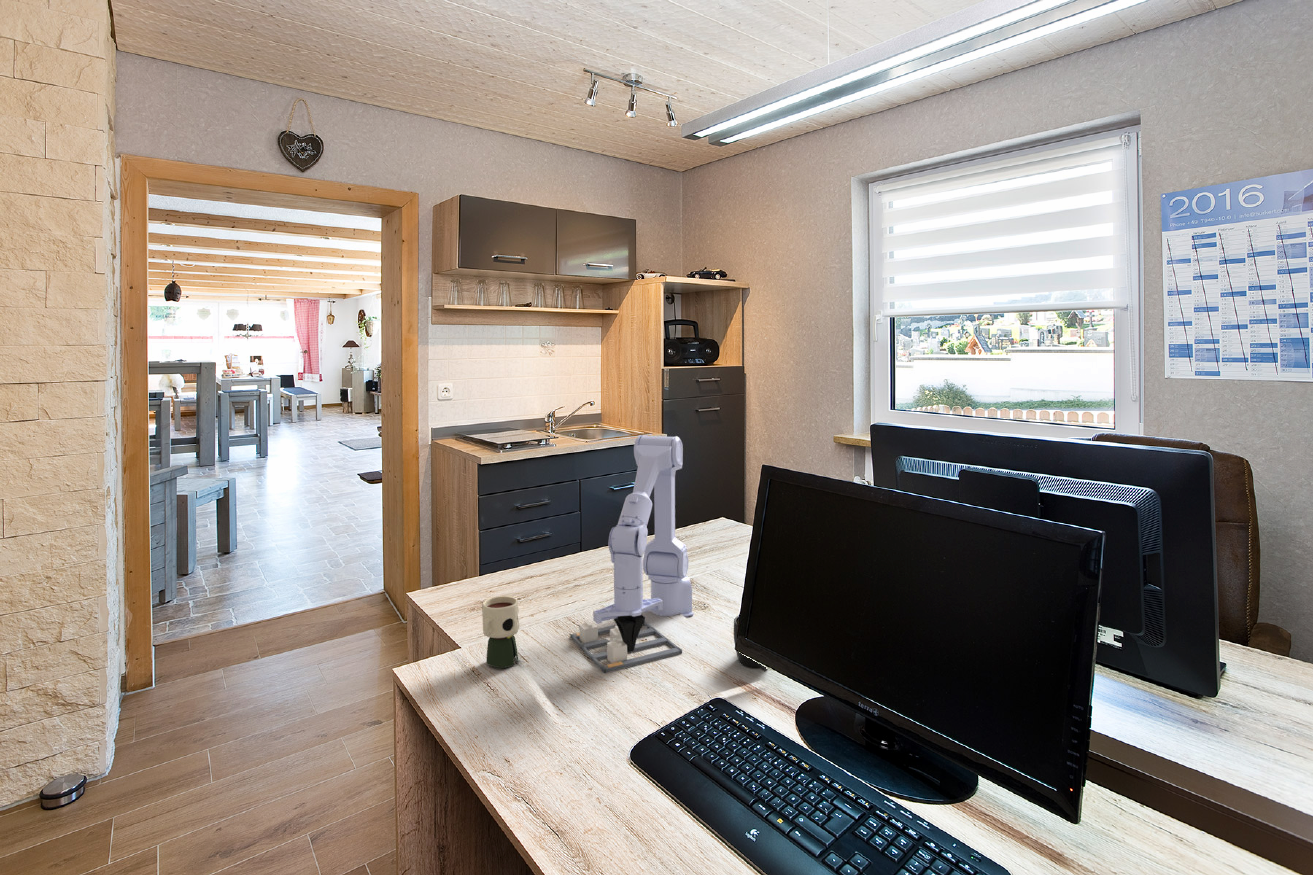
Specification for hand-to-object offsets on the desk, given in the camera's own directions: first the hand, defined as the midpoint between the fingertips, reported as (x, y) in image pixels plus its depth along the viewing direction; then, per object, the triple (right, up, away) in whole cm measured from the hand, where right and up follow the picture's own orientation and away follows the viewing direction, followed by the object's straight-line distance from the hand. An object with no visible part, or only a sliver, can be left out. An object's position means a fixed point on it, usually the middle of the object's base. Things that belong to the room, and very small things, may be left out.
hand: (629, 649), depth 136 cm
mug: (+25, -3, 0) cm, 26 cm away
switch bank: (-1, -2, +6) cm, 6 cm away
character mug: (-26, -3, 0) cm, 26 cm away
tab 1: (-9, -1, +8) cm, 12 cm away
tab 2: (-2, -1, +5) cm, 6 cm away
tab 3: (-2, -2, -1) cm, 3 cm away
